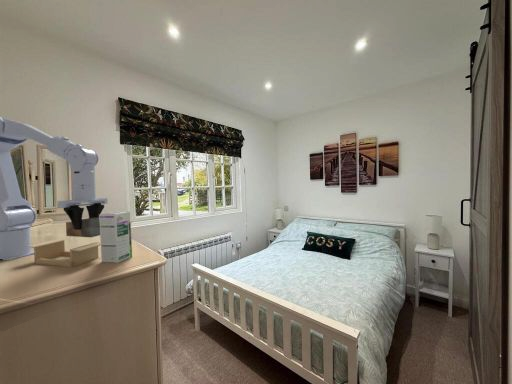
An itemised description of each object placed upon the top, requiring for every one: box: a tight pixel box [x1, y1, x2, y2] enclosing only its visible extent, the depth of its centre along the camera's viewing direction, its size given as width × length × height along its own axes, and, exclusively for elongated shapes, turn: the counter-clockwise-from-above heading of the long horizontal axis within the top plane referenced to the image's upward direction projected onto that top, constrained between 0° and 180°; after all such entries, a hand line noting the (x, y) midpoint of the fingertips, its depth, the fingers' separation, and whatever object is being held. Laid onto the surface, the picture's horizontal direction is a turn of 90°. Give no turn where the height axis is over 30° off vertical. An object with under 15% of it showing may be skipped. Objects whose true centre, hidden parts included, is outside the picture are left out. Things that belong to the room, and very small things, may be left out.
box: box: [65, 217, 100, 238], centre depth 71 cm, size 10×4×6 cm, turn 76°
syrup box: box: [99, 210, 133, 264], centre depth 66 cm, size 6×6×14 cm
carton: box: [26, 239, 101, 268], centre depth 66 cm, size 20×8×5 cm, turn 76°
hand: (85, 227), depth 71 cm, fingers closed on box, 4 cm apart
